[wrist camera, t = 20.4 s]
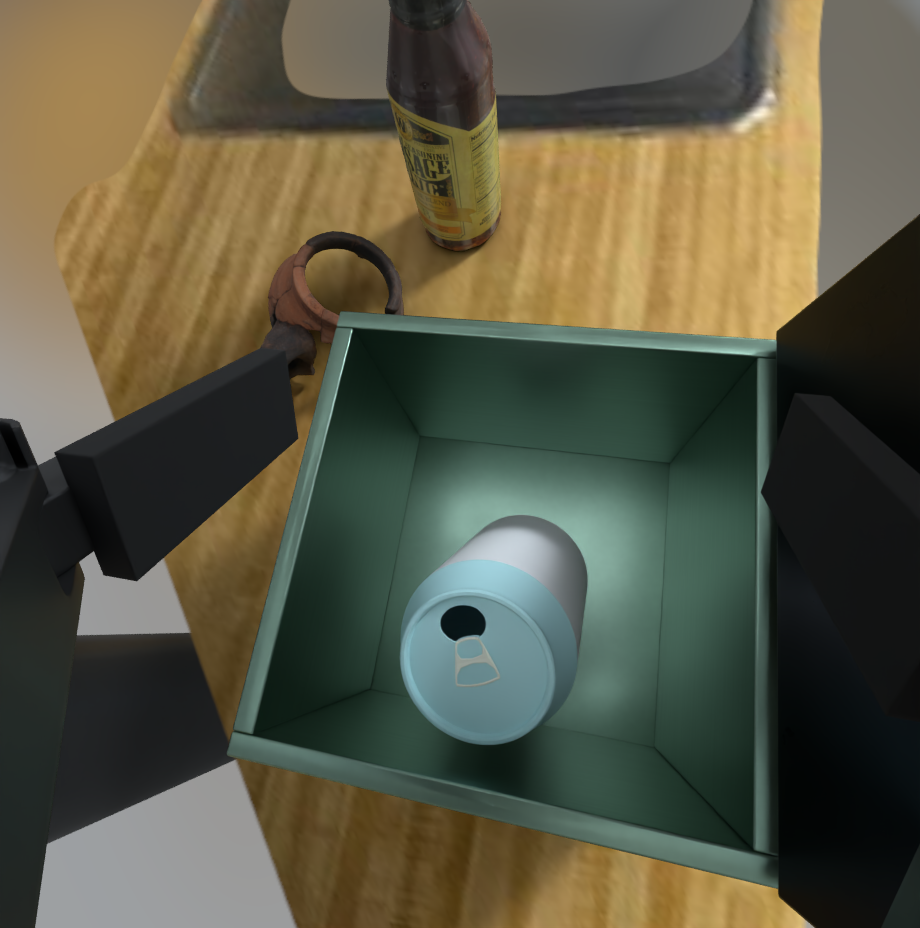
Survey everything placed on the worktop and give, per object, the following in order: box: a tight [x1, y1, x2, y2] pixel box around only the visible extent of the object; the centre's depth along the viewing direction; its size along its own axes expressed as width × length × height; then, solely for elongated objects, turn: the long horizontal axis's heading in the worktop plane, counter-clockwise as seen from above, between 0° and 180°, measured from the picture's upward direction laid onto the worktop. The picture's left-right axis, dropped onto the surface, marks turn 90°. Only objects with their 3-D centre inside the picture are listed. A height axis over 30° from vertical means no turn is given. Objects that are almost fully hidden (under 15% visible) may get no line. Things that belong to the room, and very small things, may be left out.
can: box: [400, 515, 588, 745], centre depth 24 cm, size 7×7×12 cm
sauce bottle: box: [386, 0, 501, 251], centre depth 31 cm, size 7×6×20 cm
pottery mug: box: [261, 231, 404, 379], centre depth 37 cm, size 12×10×8 cm
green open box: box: [227, 311, 778, 889], centre depth 25 cm, size 18×18×14 cm
